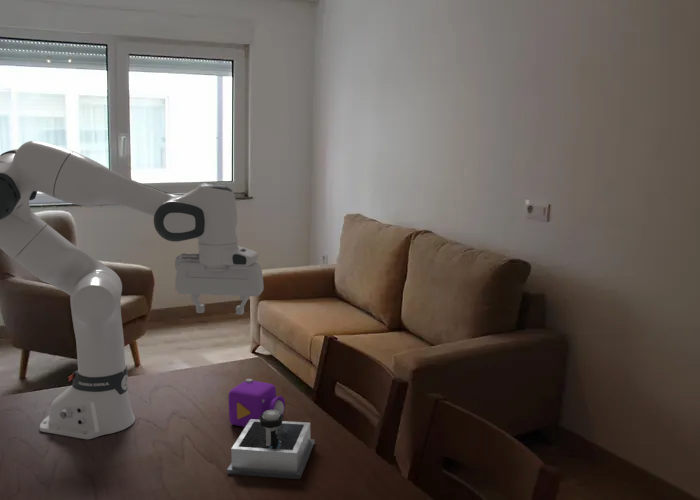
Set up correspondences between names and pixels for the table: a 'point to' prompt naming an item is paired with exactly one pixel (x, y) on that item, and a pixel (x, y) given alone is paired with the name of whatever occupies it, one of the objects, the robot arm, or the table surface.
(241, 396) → the toy camera
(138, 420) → the table surface
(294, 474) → the grey open box
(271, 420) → the push button
